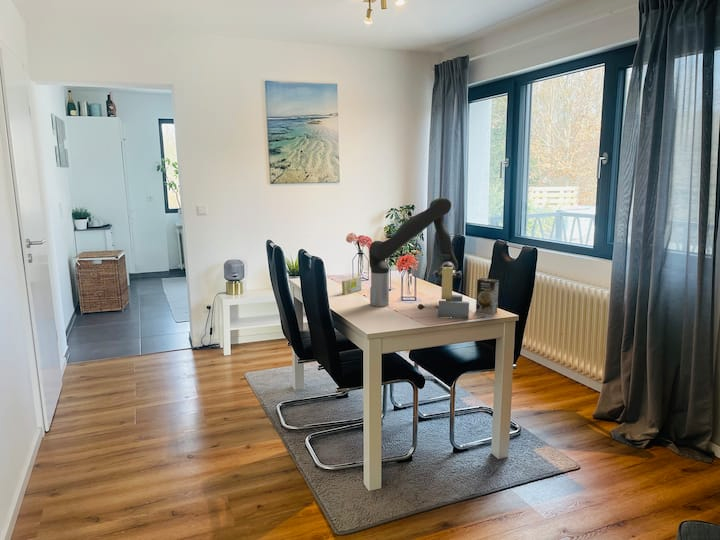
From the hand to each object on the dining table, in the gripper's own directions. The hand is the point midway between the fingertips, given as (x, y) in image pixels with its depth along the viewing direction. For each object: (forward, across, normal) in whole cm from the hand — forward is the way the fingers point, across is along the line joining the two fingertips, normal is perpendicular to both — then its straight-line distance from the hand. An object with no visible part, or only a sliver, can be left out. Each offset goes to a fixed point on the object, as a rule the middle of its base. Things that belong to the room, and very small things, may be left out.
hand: (447, 276), depth 256 cm
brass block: (-3, 0, +11) cm, 11 cm away
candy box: (-44, -54, +19) cm, 72 cm away
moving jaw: (-9, +4, +19) cm, 21 cm away
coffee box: (-10, +20, +19) cm, 29 cm away
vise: (-2, -2, +19) cm, 19 cm away
